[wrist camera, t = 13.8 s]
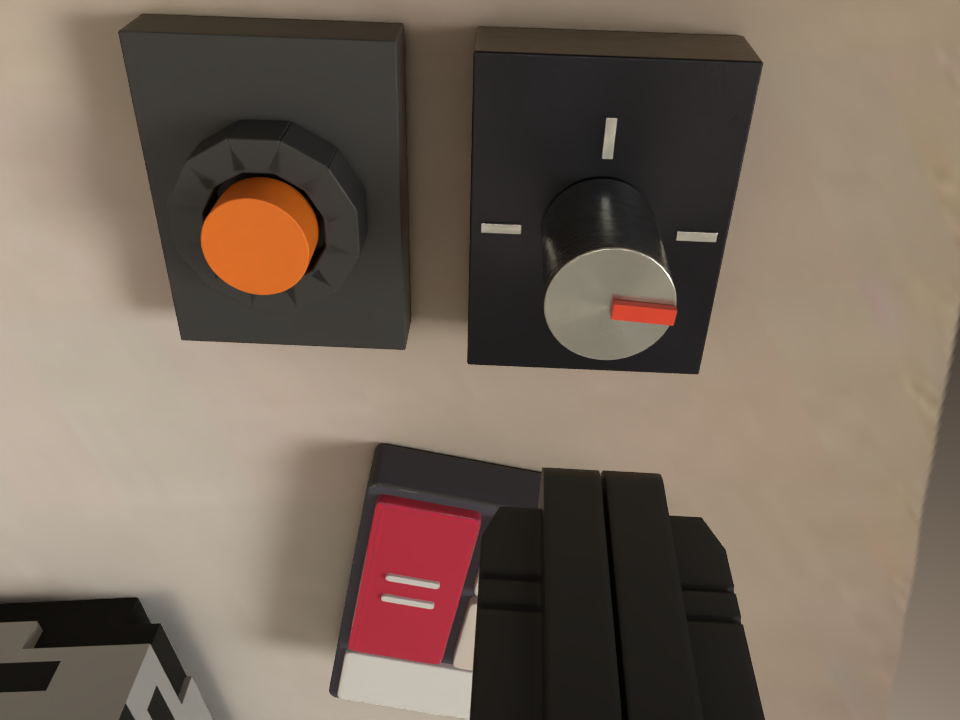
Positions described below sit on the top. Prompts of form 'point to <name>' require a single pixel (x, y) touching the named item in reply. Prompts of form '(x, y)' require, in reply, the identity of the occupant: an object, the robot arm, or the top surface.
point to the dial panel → (601, 172)
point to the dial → (605, 271)
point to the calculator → (420, 579)
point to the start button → (260, 236)
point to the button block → (280, 166)
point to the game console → (91, 664)
